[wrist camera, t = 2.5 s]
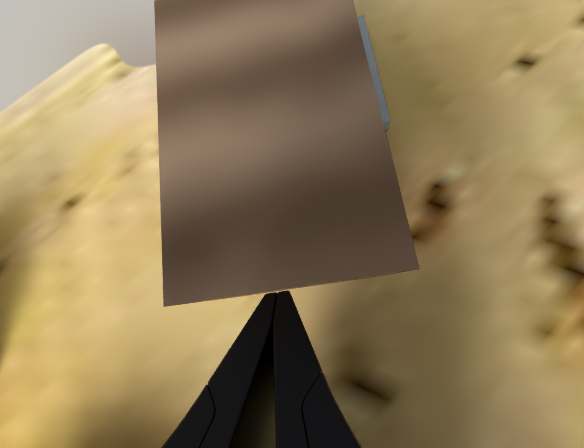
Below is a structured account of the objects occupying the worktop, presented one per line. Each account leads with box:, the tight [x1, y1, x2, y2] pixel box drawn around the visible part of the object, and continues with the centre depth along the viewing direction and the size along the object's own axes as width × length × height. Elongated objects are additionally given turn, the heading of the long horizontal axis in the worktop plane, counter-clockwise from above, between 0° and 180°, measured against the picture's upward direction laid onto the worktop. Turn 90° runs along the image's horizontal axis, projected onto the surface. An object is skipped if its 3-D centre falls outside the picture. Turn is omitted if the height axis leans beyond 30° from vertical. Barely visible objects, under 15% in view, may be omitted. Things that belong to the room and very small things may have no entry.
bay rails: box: [357, 16, 390, 130], centre depth 23 cm, size 10×16×1 cm, turn 98°
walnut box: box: [154, 0, 419, 307], centre depth 17 cm, size 16×10×10 cm, turn 8°
